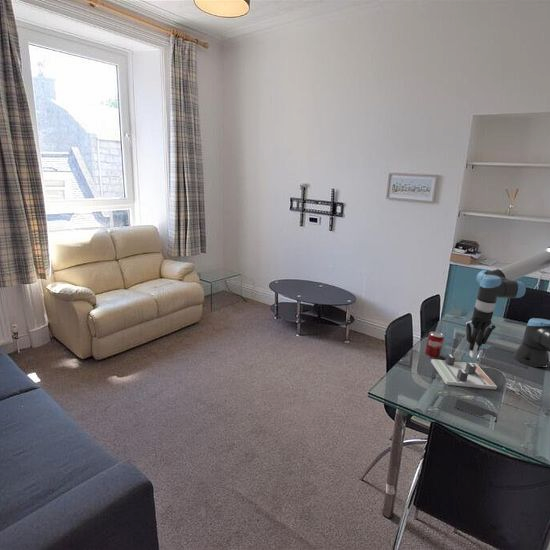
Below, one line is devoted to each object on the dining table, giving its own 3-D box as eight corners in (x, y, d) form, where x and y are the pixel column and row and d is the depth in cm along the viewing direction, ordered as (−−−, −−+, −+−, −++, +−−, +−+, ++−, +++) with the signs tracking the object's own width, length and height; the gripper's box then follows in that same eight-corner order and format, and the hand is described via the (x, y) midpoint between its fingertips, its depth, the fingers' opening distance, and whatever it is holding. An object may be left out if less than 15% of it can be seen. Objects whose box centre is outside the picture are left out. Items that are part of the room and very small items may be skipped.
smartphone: (496, 422, 142) (454, 406, 149) (495, 424, 142) (453, 408, 149) (496, 412, 148) (456, 397, 155) (496, 414, 148) (455, 399, 155)
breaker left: (451, 362, 182) (452, 354, 181) (453, 365, 179) (455, 357, 178) (444, 361, 182) (446, 353, 181) (447, 364, 180) (449, 357, 178)
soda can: (440, 360, 187) (446, 338, 184) (425, 357, 188) (430, 336, 185) (437, 353, 194) (442, 332, 190) (423, 351, 195) (427, 330, 192)
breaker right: (463, 377, 169) (465, 369, 168) (466, 381, 166) (468, 373, 165) (456, 377, 169) (458, 369, 168) (459, 380, 166) (461, 372, 165)
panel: (475, 366, 184) (476, 362, 183) (496, 389, 165) (497, 385, 164) (430, 361, 185) (431, 358, 184) (446, 384, 165) (447, 380, 165)
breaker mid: (471, 371, 175) (473, 363, 174) (474, 374, 173) (476, 366, 171) (465, 370, 176) (467, 362, 174) (467, 373, 173) (469, 366, 171)
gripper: (494, 307, 168) (482, 353, 175) (465, 305, 169) (454, 351, 176) (503, 313, 161) (490, 362, 168) (472, 311, 162) (461, 359, 168)
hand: (472, 356), depth 172 cm, fingers closed
